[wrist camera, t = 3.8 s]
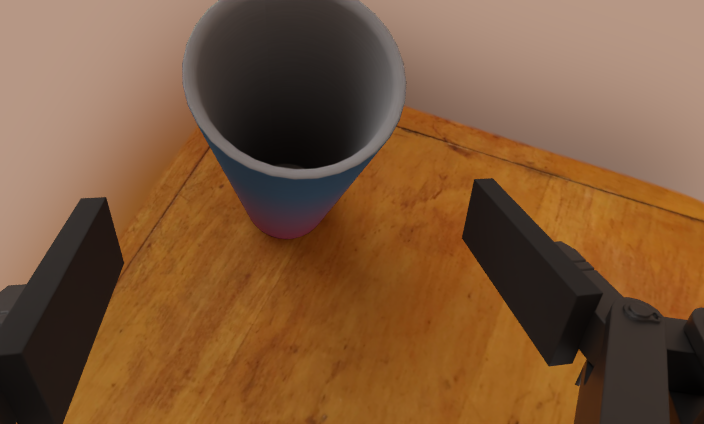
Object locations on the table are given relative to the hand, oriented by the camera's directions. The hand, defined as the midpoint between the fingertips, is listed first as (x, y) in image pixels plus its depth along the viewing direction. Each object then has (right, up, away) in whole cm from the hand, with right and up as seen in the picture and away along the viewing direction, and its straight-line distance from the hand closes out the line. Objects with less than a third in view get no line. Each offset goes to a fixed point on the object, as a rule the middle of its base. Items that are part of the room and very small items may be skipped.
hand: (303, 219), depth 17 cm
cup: (-2, +1, +12) cm, 12 cm away
